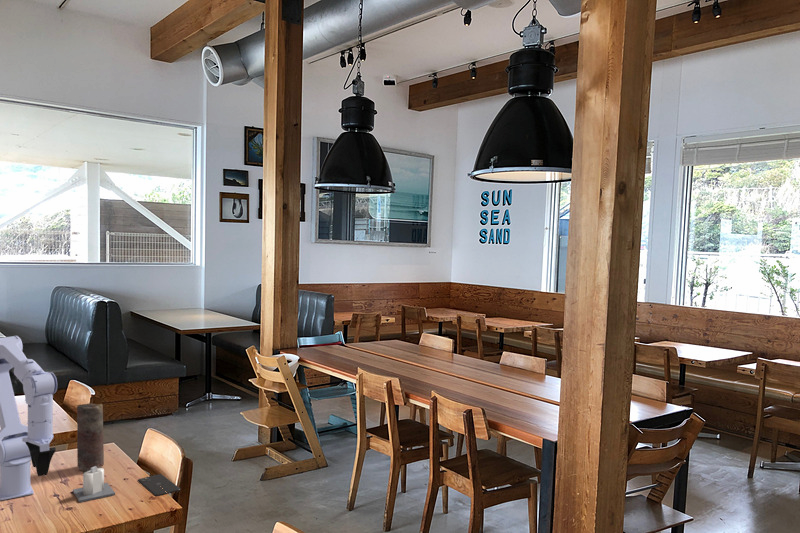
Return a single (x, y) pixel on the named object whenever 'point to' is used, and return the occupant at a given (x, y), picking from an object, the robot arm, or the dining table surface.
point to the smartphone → (158, 485)
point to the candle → (90, 436)
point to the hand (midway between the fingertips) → (40, 470)
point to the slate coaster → (101, 494)
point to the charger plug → (93, 481)
